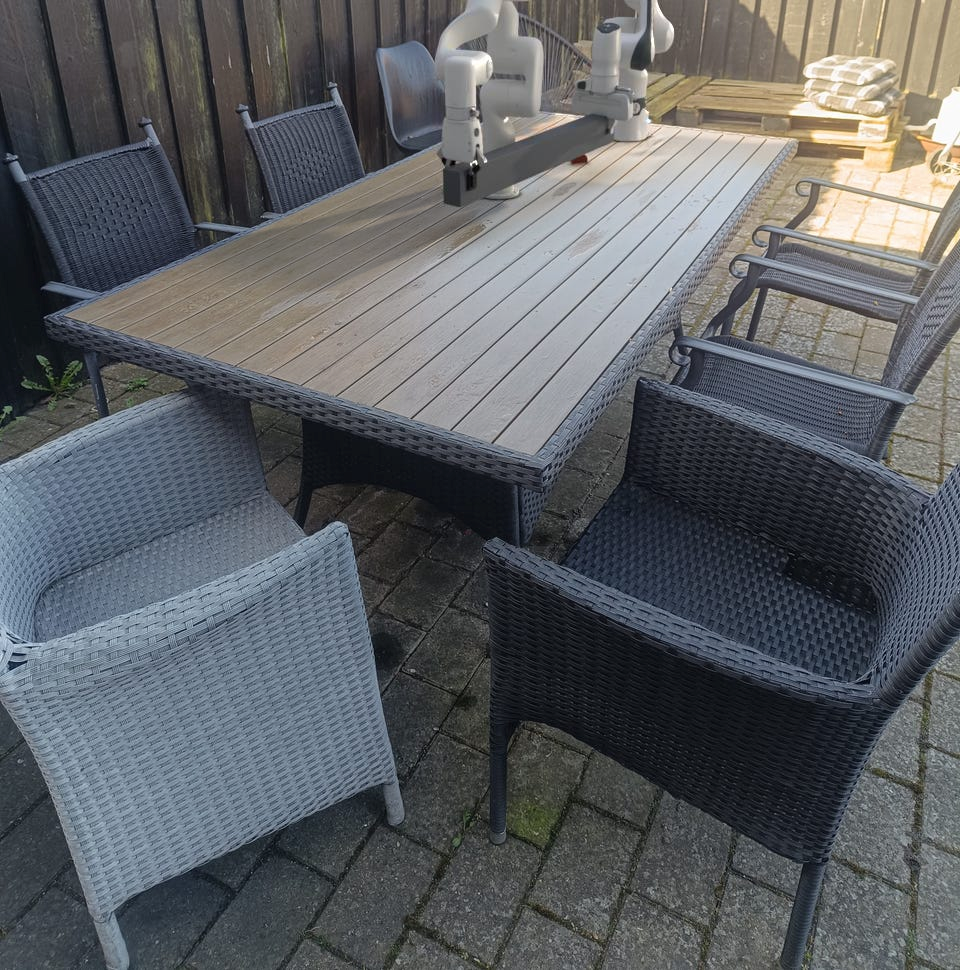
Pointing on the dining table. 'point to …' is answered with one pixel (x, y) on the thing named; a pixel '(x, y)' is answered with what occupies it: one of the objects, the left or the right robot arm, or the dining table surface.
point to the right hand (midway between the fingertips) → (600, 131)
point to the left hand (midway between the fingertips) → (462, 186)
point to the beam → (526, 158)
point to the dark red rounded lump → (580, 159)
